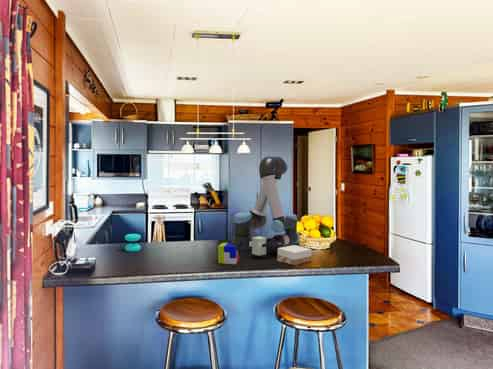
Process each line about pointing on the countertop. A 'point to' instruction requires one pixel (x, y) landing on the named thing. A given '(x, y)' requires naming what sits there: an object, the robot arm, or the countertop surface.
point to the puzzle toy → (228, 253)
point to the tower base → (292, 261)
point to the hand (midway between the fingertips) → (253, 245)
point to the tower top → (294, 252)
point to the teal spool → (132, 246)
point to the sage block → (254, 245)
